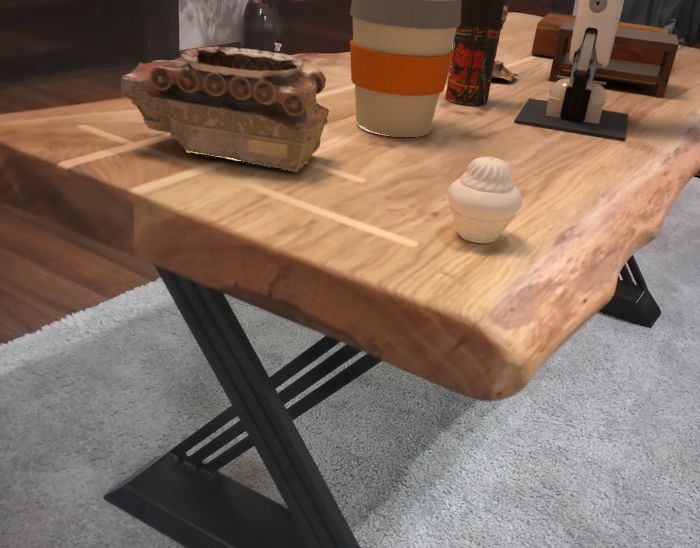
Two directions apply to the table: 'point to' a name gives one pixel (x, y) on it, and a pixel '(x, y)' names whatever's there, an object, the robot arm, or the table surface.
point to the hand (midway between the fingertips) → (573, 113)
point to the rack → (619, 66)
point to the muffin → (484, 200)
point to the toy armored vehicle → (233, 104)
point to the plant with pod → (498, 67)
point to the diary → (553, 22)
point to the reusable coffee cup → (401, 62)
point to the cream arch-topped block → (594, 104)
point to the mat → (608, 126)
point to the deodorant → (474, 52)
